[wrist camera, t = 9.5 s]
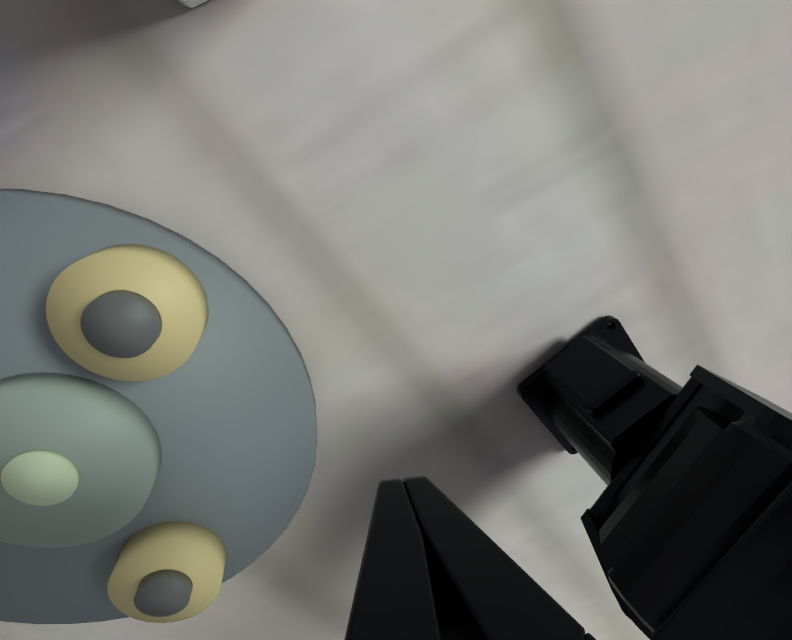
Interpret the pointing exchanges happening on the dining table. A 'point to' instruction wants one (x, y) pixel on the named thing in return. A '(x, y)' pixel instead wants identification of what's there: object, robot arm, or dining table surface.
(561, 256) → the dining table surface
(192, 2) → the jar
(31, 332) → the plate
